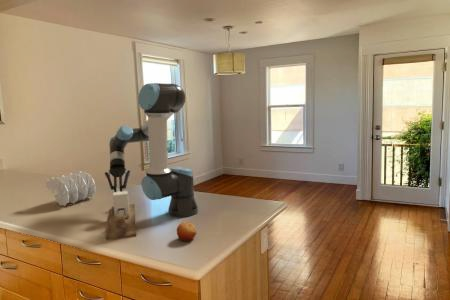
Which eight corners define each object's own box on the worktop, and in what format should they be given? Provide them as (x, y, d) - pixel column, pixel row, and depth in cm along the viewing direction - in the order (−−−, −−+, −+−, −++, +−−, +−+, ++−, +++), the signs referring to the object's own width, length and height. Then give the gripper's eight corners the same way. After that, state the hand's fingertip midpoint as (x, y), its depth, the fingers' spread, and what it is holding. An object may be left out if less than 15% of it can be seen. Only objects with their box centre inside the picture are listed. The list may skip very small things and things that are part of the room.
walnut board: (134, 206, 188) (133, 192, 187) (136, 236, 144) (134, 217, 143) (112, 208, 185) (110, 194, 184) (106, 240, 141) (104, 221, 140)
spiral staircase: (96, 203, 210) (60, 213, 188) (78, 189, 217) (41, 197, 195) (104, 178, 205) (68, 185, 183) (85, 164, 212) (48, 169, 190)
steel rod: (125, 202, 184) (125, 197, 183) (124, 228, 144) (123, 222, 143) (120, 202, 183) (119, 197, 183) (117, 229, 143) (116, 222, 143)
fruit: (177, 231, 144) (185, 216, 142) (192, 241, 143) (201, 226, 141) (169, 238, 137) (177, 222, 135) (185, 249, 135) (194, 234, 133)
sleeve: (129, 213, 169) (127, 190, 168) (129, 217, 164) (127, 193, 162) (115, 215, 168) (113, 192, 166) (114, 219, 162) (113, 195, 160)
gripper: (130, 164, 187) (132, 202, 173) (105, 166, 183) (105, 205, 170) (129, 156, 181) (131, 195, 167) (103, 158, 177) (103, 197, 164)
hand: (118, 200), depth 168 cm, fingers closed
